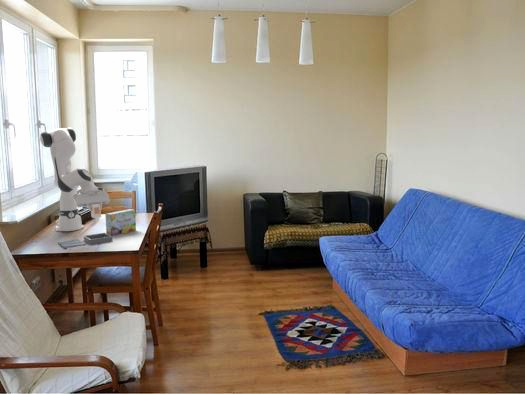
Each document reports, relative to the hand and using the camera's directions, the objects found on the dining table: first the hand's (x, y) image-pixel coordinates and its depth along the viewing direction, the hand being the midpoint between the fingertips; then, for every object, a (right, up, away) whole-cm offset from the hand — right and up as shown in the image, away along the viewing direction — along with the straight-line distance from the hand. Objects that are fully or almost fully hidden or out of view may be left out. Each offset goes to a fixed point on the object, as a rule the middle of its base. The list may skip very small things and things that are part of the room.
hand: (95, 209), depth 280 cm
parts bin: (0, -20, +4) cm, 20 cm away
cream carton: (0, -5, +1) cm, 5 cm away
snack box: (+8, -17, +27) cm, 32 cm away
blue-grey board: (-14, -21, -3) cm, 25 cm away
